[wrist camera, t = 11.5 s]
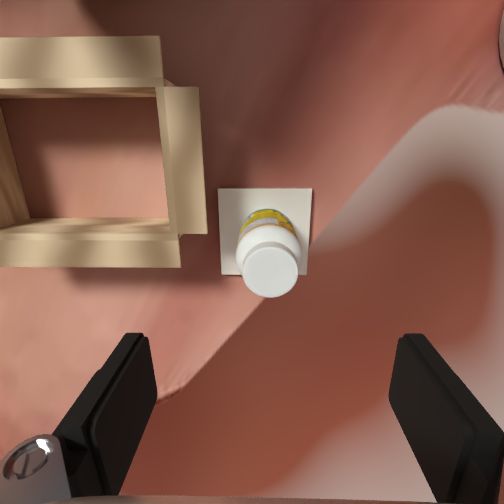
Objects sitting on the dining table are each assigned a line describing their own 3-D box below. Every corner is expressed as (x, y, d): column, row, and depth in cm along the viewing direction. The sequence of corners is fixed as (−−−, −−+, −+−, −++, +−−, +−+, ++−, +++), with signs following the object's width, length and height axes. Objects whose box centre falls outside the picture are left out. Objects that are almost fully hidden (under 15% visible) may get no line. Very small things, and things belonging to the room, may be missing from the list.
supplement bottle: (236, 211, 30) (226, 242, 21) (290, 203, 29) (304, 230, 20) (245, 261, 32) (239, 310, 23) (296, 254, 31) (311, 301, 22)
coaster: (311, 187, 29) (312, 188, 29) (305, 272, 33) (306, 275, 32) (218, 187, 30) (217, 188, 29) (222, 272, 33) (221, 274, 32)
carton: (208, 55, 26) (195, 34, 21) (217, 246, 32) (209, 267, 27) (-48, 58, 26) (-122, 39, 21) (9, 246, 32) (-39, 266, 27)
